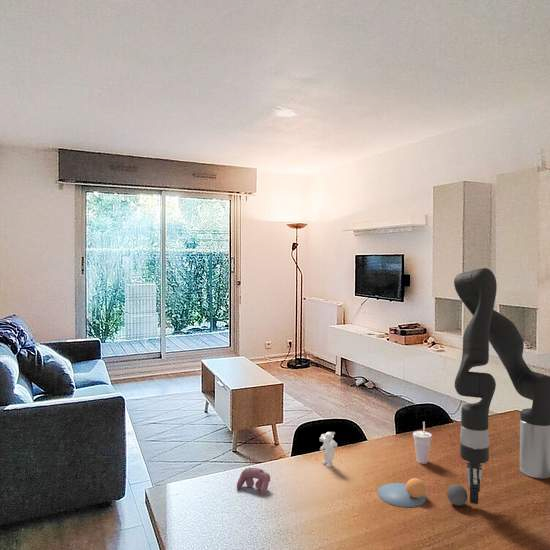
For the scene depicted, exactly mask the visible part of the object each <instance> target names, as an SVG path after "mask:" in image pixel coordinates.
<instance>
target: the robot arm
mask: <svg viewBox="0 0 550 550" xmlns="http://www.w3.org/2000/svg"><path fill="white" fill-rule="evenodd" d="M453 285H454V290H455V292H456V294H457V296H458V297H459V299H460V300H461V302H462V303H463V304H464V305H465V307H466V308H467V310H468V311H469V312H470V313H471V315H472V318H471V319H470V321H469V323H468V325H466V328H465V330H464V333H463V337H462V356H461V362H460V365H459V368H458V371H457V374H456V376H455V379H454V389H455V392H456V393H457V394H458V395H459V396H462V397H468V398H476V399H477V398H479V399H480V400H479V401H478V402H473V403H466V404H464V405H462V407H461V409H460V410H461V411H460V412H461V413H460V414H461V415H460V416H461V418H460V420H461V421H460V430H459V431H460V432H459V433H460V434H459V436H460V437H459V440H460V442H459V444H460V445H459V456H460V458H461V459H462V460H464V461H466V472H467V482H468V490H469V503H471V504H473V505H478V504H479V493H480V491H481V484H482V475H483V468H482V467H483V466H482V464H486V463H488V462H489V461H490V460H489V459H490V434H489V412H490V406H491V403H492V400H493V398H494V394H495V391H496V386H497V385H496V384H497V383H496V380H495V377H494V376H493V375H492V374H490V373H488V372H479V371H470V370H471V369H472V368H475V367H483V366H486V365H488V363H489V360H490V359H489V358H490V356H489V355H490V354H489V353H490V345H491V347H492V349H493V350H494V351H495V353H496V354H497V356H498V358H499V360H500V361H501V364H502V365H503V366H504V369H505V370H506V372H507V374H508V376H509V379H510V381H511V383H512V386H513V387H514V389H515V391H516V392H517V394H519V396H521V397H523V398H525V399H528V400H530V401H532V404H531V408H530V407H529V408H523V409H522V410H521V411H520V413H519V472H521V473H522V474H523V475H525V476H528V477H530V478H534V479H549V478H550V375H548V374H544V373H540V372H537V371H533V370H532V369H531V368H530V367H529V366H528V365H527V363H526V361H525V359H524V358H523V354H524V347H525V345H524V344H525V343H524V339H523V337H522V335H521V333H520V331H519V330H518V328H517V326H516V325H515V323H514V322H513V321H512V320H511V319H509V317H506V316H505V315H503V314H502V313H500V312H498V311H497V310H496V309H495V308H494V307H495V301H496V297H497V286H498V285H497V278H496V275H495V274H494V273H493V271H492V270H491V269H490V268H487V267H483V268H477V269H473V270H469V271H468V270H467V271H464V272H461V273H458V274H457V275H456V276H455V277H454V279H453Z"/></svg>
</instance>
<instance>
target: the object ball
mask: <svg viewBox="0 0 550 550" xmlns="http://www.w3.org/2000/svg"><path fill="white" fill-rule="evenodd" d="M405 484H406V490H407V492H408V494H409V495H410V496H411V497H413V498H421V497H422V496H423V495H424V494H425V495H426V486H425V484H424V482H423V480H421V479H419V478H416V477H412V478H410V479H408V481H407V482H406V483H405Z"/></svg>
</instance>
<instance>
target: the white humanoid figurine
mask: <svg viewBox="0 0 550 550" xmlns="http://www.w3.org/2000/svg"><path fill="white" fill-rule="evenodd" d="M335 435H336V432H335V431H327V432H326V433H322V434H321V435H320V437H319V442H322V446H320V448H319V451H321V452H322V451H324V454H323V458H324V459H323V461H322V464H323V465H325V466H326V467H327V468H332V467H333V466H334V464H333V463H334V462H333V460H334V458H335V457H334V456H335V455H334V454H335V450H336V449H337V448H338V443H337V442H336V441H335V440H334V439H333V438H334V437H335ZM332 459H333V460H332Z"/></svg>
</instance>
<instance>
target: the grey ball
mask: <svg viewBox="0 0 550 550" xmlns="http://www.w3.org/2000/svg"><path fill="white" fill-rule="evenodd" d="M446 496H447V499H448V501H449V502H450V503H451V504H452V505H454V506H458V507H460V506H463V505H465V504H466V503H467V502H468V499H469V498H468V497H469V496H468V492H467V490H466V488H464V486H462V485H460V484H452V485H450V486H449V487H448V488H447V491H446Z"/></svg>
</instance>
